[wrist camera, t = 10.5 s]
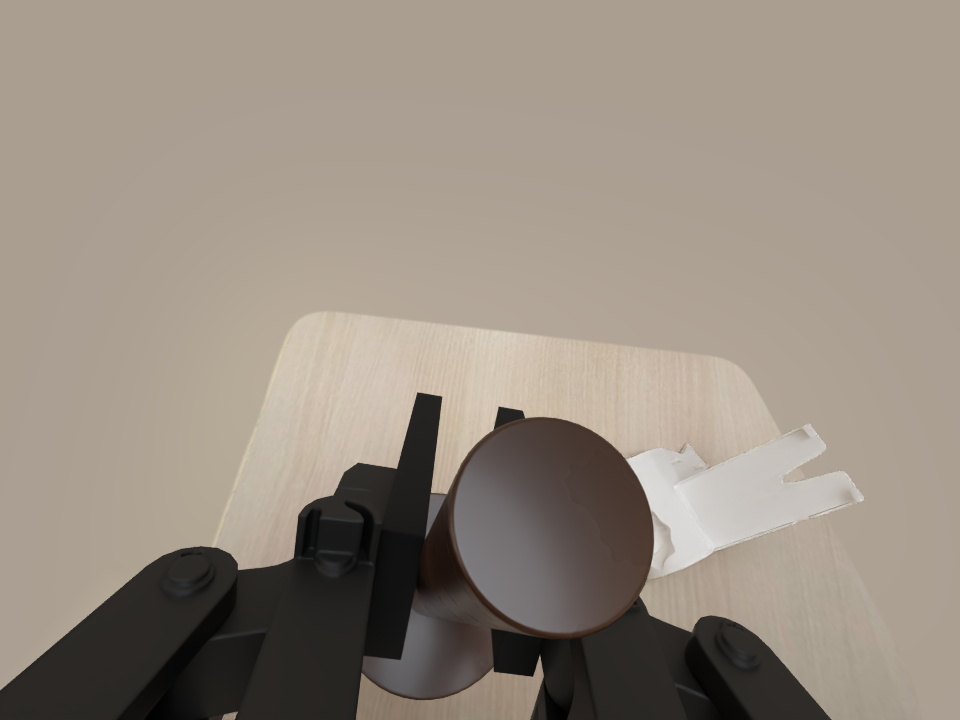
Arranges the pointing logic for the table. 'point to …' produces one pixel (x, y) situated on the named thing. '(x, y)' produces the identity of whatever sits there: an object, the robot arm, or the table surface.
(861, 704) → the table surface
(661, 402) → the table surface
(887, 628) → the table surface
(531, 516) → the wooden stand
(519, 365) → the table surface
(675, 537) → the plastic part
